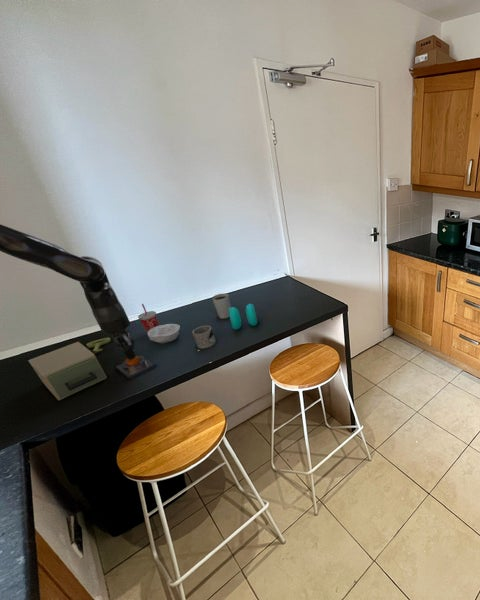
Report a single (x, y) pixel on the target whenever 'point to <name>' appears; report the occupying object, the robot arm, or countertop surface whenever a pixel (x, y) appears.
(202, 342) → the mug
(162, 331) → the cell model
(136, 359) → the button
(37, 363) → the small drawer cabinet
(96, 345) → the key
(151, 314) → the beverage cup
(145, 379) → the countertop surface
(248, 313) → the donuts
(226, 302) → the drinking glass
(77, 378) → the pull-out drawer
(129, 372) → the control block
